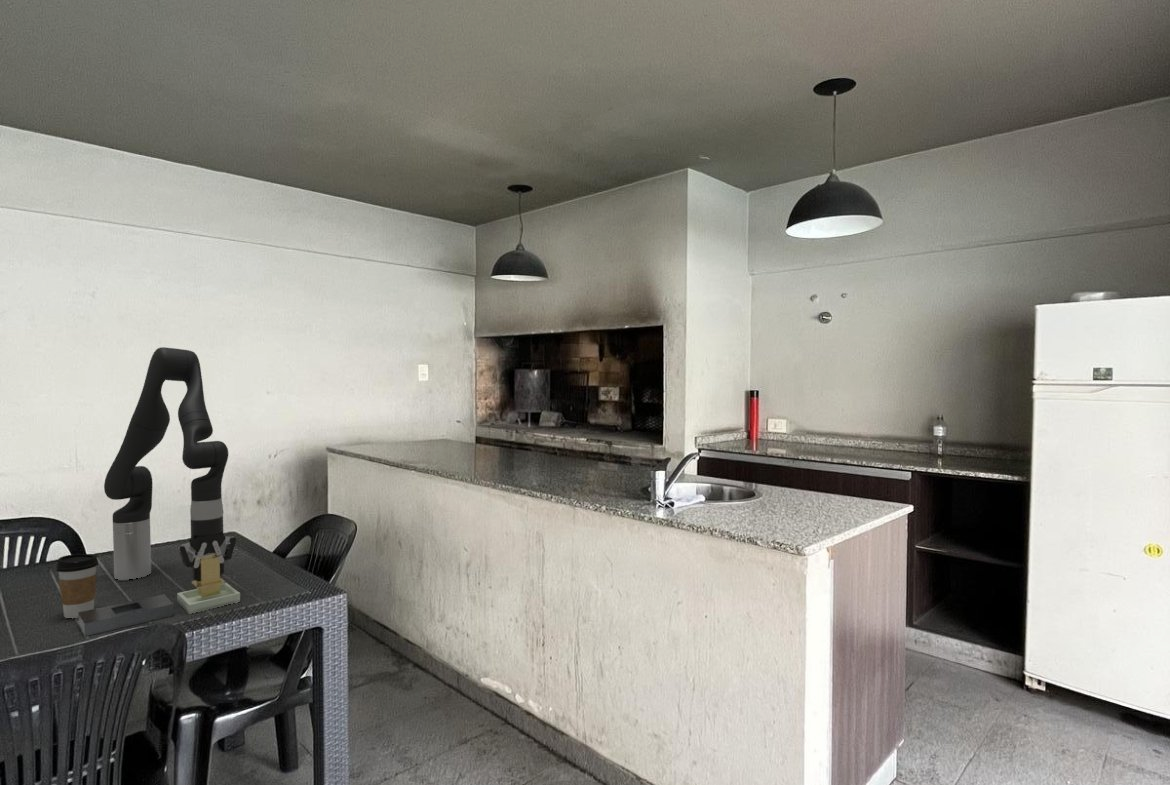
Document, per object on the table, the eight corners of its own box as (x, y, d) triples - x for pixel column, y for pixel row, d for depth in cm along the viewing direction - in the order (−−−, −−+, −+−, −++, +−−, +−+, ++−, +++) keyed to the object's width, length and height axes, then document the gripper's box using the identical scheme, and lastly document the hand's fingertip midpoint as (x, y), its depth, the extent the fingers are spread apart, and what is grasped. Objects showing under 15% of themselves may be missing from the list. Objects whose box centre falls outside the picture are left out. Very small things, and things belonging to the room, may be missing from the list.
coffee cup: (73, 608, 167) (71, 552, 166) (107, 607, 167) (105, 551, 167) (49, 621, 158) (47, 562, 158) (85, 620, 159) (83, 561, 159)
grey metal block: (78, 624, 157) (78, 612, 156) (164, 605, 169) (164, 594, 169) (84, 636, 150) (84, 623, 149) (173, 615, 162) (173, 603, 162)
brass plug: (192, 593, 171) (191, 557, 171) (218, 587, 176) (217, 552, 176) (198, 599, 167) (197, 562, 166) (225, 593, 171) (224, 557, 171)
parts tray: (177, 602, 171) (177, 593, 171) (226, 591, 180) (226, 582, 180) (189, 614, 163) (189, 604, 163) (240, 602, 171) (240, 593, 171)
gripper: (231, 509, 178) (233, 569, 179) (172, 517, 168) (173, 581, 169) (240, 513, 173) (241, 575, 174) (179, 522, 163) (181, 588, 164)
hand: (208, 578), depth 171 cm, fingers open, 4 cm apart
